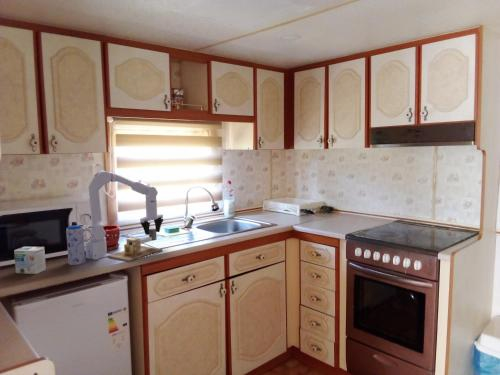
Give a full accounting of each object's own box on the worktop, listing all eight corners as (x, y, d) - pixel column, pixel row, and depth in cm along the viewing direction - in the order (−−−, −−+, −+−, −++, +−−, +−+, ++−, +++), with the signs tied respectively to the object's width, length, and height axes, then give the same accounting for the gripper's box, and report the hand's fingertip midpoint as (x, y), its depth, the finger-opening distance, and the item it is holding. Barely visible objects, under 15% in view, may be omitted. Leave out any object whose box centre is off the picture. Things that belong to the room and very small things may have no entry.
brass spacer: (131, 255, 198) (130, 245, 198) (124, 254, 201) (124, 244, 200) (133, 254, 200) (133, 245, 199) (127, 253, 202) (126, 243, 202)
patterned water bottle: (66, 262, 192) (63, 222, 190) (83, 259, 197) (80, 219, 195) (70, 265, 186) (67, 224, 184) (87, 262, 191) (84, 222, 189)
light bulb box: (15, 273, 177) (13, 250, 176) (26, 268, 183) (24, 246, 182) (36, 274, 175) (34, 250, 174) (46, 269, 182) (44, 246, 180)
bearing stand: (129, 262, 190) (128, 245, 189) (108, 257, 199) (107, 241, 198) (162, 251, 209) (161, 235, 208) (141, 247, 217) (140, 232, 216)
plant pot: (95, 247, 220) (93, 226, 218) (119, 244, 224) (118, 224, 223) (95, 253, 208) (93, 230, 206) (121, 250, 212) (119, 228, 211)
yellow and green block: (135, 245, 202) (135, 234, 201) (131, 244, 203) (131, 233, 203) (156, 239, 214) (156, 228, 213) (152, 239, 215) (152, 228, 215)
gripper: (146, 211, 203) (147, 236, 205) (166, 207, 215) (167, 231, 217) (137, 210, 207) (138, 235, 209) (157, 206, 219) (158, 230, 221)
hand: (152, 233), depth 213 cm, fingers open, 7 cm apart
